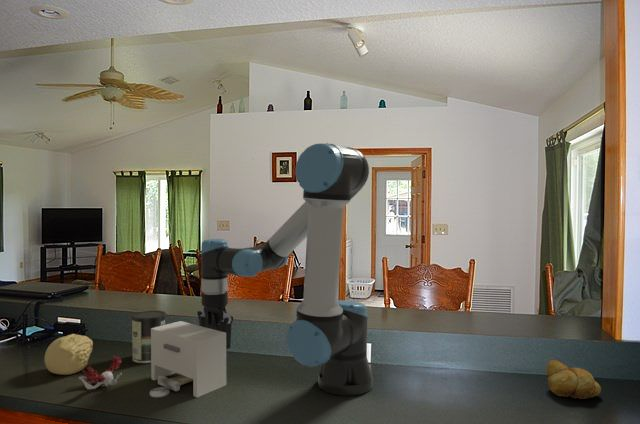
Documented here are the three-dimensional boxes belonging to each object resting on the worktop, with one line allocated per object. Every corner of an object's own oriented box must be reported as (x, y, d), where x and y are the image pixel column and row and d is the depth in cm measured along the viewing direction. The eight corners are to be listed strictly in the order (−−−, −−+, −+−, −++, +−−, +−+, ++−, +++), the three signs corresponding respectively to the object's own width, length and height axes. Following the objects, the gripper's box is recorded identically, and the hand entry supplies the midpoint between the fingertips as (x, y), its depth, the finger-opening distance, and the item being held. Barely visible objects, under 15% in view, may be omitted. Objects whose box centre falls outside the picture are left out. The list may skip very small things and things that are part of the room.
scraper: (228, 372, 138) (228, 338, 138) (175, 391, 123) (176, 353, 123) (210, 366, 143) (210, 333, 142) (157, 383, 128) (158, 347, 128)
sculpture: (73, 380, 132) (73, 342, 132) (35, 377, 134) (35, 340, 134) (99, 365, 143) (98, 330, 143) (63, 363, 145) (63, 328, 145)
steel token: (169, 389, 126) (169, 386, 126) (169, 397, 122) (169, 393, 122) (149, 392, 125) (149, 388, 125) (149, 400, 120) (149, 396, 120)
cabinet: (226, 385, 129) (226, 332, 128) (194, 398, 120) (194, 342, 120) (180, 368, 141) (180, 320, 140) (148, 380, 132) (148, 329, 131)
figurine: (96, 374, 136) (96, 352, 136) (134, 376, 135) (134, 353, 135) (62, 396, 121) (62, 371, 121) (105, 399, 120) (105, 373, 120)
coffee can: (172, 353, 154) (172, 311, 154) (155, 364, 144) (154, 319, 144) (144, 351, 156) (143, 309, 156) (125, 362, 146) (124, 317, 146)
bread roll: (597, 391, 126) (598, 362, 125) (605, 406, 117) (606, 375, 116) (544, 384, 130) (545, 356, 130) (548, 398, 121) (549, 368, 121)
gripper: (243, 293, 136) (243, 372, 137) (206, 286, 146) (207, 360, 147) (223, 298, 130) (224, 380, 131) (186, 290, 140) (187, 367, 141)
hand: (215, 369), depth 139 cm, fingers closed on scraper, 3 cm apart
